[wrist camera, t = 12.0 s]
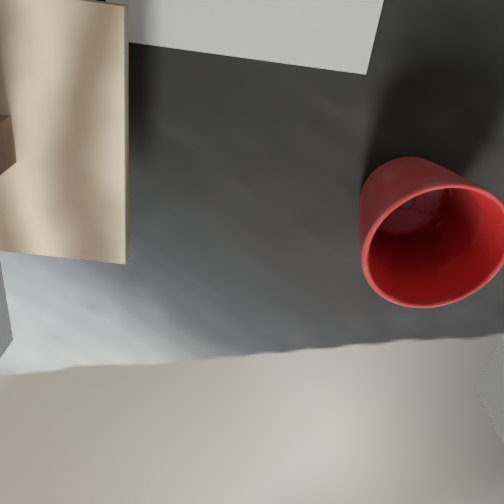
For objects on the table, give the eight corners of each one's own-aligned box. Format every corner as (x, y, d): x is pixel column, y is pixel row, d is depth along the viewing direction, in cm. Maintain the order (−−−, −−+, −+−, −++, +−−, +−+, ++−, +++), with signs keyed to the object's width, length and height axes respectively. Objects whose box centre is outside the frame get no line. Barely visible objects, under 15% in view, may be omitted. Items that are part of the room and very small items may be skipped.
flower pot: (455, 244, 46) (501, 305, 38) (340, 251, 46) (359, 314, 38) (472, 135, 41) (530, 177, 32) (342, 144, 41) (365, 189, 33)
